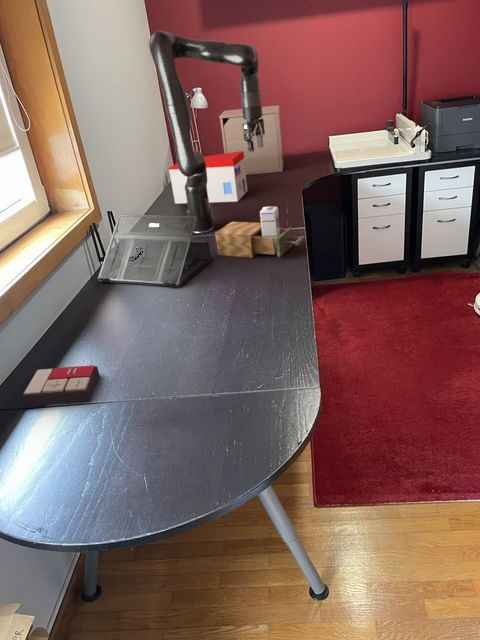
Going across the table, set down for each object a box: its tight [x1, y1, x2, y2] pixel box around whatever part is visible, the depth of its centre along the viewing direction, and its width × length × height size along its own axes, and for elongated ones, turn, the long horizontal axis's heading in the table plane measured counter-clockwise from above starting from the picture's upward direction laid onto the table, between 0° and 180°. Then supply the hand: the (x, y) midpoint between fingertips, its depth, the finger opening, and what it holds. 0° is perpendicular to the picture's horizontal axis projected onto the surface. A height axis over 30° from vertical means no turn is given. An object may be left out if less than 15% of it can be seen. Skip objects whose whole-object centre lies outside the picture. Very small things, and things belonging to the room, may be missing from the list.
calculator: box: [21, 364, 100, 409], centre depth 122 cm, size 11×4×15 cm
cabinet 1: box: [218, 104, 284, 176], centre depth 317 cm, size 35×29×34 cm
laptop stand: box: [96, 214, 212, 288], centre depth 182 cm, size 33×28×18 cm
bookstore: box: [168, 151, 248, 205], centre depth 268 cm, size 21×35×21 cm, turn 77°
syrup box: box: [259, 205, 281, 249], centre depth 187 cm, size 6×6×14 cm
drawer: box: [251, 226, 305, 258], centre depth 189 cm, size 20×13×7 cm, turn 65°
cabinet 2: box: [214, 221, 262, 259], centre depth 195 cm, size 15×14×9 cm
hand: (255, 149), depth 203 cm, fingers open, 8 cm apart
